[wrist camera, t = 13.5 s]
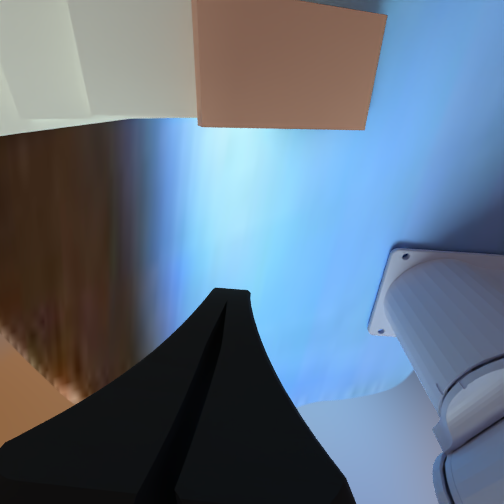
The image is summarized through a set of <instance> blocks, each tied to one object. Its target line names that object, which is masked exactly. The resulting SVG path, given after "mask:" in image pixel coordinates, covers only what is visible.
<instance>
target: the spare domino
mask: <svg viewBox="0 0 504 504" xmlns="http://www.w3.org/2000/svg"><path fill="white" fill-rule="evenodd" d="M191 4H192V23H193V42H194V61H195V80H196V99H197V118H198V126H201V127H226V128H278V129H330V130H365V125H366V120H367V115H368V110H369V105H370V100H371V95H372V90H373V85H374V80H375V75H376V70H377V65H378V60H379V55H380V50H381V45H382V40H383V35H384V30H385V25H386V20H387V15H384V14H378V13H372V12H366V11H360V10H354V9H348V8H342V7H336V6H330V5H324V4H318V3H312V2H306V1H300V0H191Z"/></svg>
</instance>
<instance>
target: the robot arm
mask: <svg viewBox="0 0 504 504" xmlns="http://www.w3.org/2000/svg"><path fill="white" fill-rule="evenodd" d="M404 254H408V255H407V256H406V257H402V256H403V255H404ZM250 294H251V293H250V292H249V291H248V290H239V289H226V288H214V289H213V290H212V291H211V292H210V294H209V295H208V296H207V297H206V299H205V300H204V301H203V302H202V303H201V305H200V306H199V307H198V308H197V309H196V310H195V311H194V312H193V313H192V315H191V316H190V317H189V318H188V319H187V320H186V321H185V322H184V323H183V324H182V325H181V326H180V327H179V328H178V329H177V330H176V331H175V332H174V333H173V334H172V335H171V336H170V337H168V338H167V339H166V340H165V341H164V342H163V343H162V344H161V345H160V346H158V347H157V348H156V349H155V350H154V351H153V352H151V353H150V354H149V355H148V356H146V357H145V358H144V359H143V360H141V361H140V362H139V363H137V364H136V365H135V366H133V367H132V368H131V369H129V370H128V371H127V372H125V373H124V374H122V375H121V376H120V377H118V378H117V379H115V380H114V381H112V382H111V383H110V384H108V385H107V386H105V387H103V388H102V389H100V390H99V391H97V392H95V393H94V394H92V395H91V396H89V397H87V398H86V399H84V400H83V401H81V402H79V403H77V404H76V405H74V406H72V407H71V408H69V409H67V410H66V411H64V412H62V413H60V414H58V415H57V416H55V417H53V418H51V419H49V420H48V421H45V422H44V423H42V424H40V425H38V426H36V427H34V428H32V429H30V430H29V431H27V432H25V433H23V434H21V435H19V436H17V437H15V438H13V439H12V440H9V441H7V442H5V443H4V444H3V446H2V447H1V448H0V504H356V502H355V499H354V497H353V494H352V492H351V489H350V487H349V484H348V482H347V480H346V478H345V476H344V475H343V473H342V472H341V471H340V469H339V468H338V467H337V466H336V464H335V463H334V462H333V460H332V459H331V458H330V457H329V455H328V454H327V452H326V451H325V450H324V448H323V447H322V446H321V444H320V443H319V442H318V440H317V439H316V438H315V436H314V434H313V433H312V432H311V430H310V429H309V427H308V426H307V424H306V423H305V422H304V420H303V418H302V417H301V415H300V414H299V412H298V410H297V409H296V407H295V406H294V404H293V402H292V401H291V399H290V397H289V396H288V394H287V393H286V391H285V389H284V387H283V386H282V384H281V382H280V380H279V378H278V376H277V374H276V372H275V370H274V368H273V366H272V364H271V362H270V360H269V358H268V356H267V353H266V351H265V349H264V346H263V344H262V341H261V338H260V336H259V333H258V330H257V327H256V323H255V320H254V316H253V312H252V308H251V301H250ZM380 329H382V330H380ZM368 331H369V333H370V334H371V335H378V336H390V337H397V339H398V341H399V342H400V344H401V346H402V348H403V350H404V352H405V354H406V355H407V357H408V359H409V361H410V363H411V365H412V367H413V369H414V370H415V372H416V374H417V376H418V378H419V380H420V382H421V383H422V385H423V387H424V389H425V391H426V393H427V394H428V397H429V398H430V400H431V402H432V404H433V406H434V407H435V409H436V411H437V413H438V415H439V417H440V421H439V422H438V424H437V425H436V426H435V427H433V429H432V430H433V432H434V434H435V436H436V438H437V440H438V442H439V444H440V446H441V449H442V451H443V453H441V454H440V455H439V456H438V457H437V458H436V460H435V462H434V465H433V483H434V488H435V492H436V496H437V499H438V502H439V504H504V255H497V254H482V253H467V252H453V251H438V250H423V249H408V248H395V249H393V250H392V251H391V252H390V255H389V258H388V262H387V265H386V268H385V271H384V275H383V278H382V281H381V285H380V288H379V291H378V295H377V298H376V301H375V305H374V308H373V311H372V315H371V318H370V321H369V325H368Z"/></svg>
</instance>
